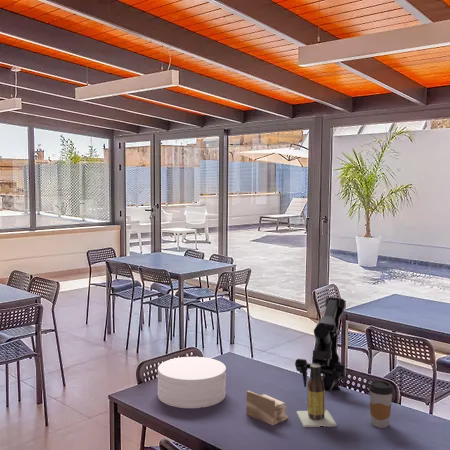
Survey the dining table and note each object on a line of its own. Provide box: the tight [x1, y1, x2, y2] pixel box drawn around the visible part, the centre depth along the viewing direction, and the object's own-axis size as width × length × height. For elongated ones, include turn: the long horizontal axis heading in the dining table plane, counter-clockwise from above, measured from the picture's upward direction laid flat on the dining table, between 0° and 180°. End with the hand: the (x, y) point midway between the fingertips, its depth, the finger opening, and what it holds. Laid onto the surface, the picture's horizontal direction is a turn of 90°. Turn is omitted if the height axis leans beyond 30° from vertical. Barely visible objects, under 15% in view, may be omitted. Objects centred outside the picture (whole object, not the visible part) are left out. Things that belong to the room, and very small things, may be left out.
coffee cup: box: [368, 380, 394, 429], centre depth 192 cm, size 8×8×15 cm
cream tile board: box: [296, 409, 337, 428], centre depth 196 cm, size 12×12×1 cm
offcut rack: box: [245, 390, 288, 426], centre depth 198 cm, size 9×13×9 cm
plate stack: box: [157, 356, 227, 409], centre depth 218 cm, size 28×28×12 cm
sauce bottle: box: [306, 363, 326, 420], centre depth 195 cm, size 6×6×20 cm
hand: (317, 388), depth 196 cm, fingers open, 9 cm apart
